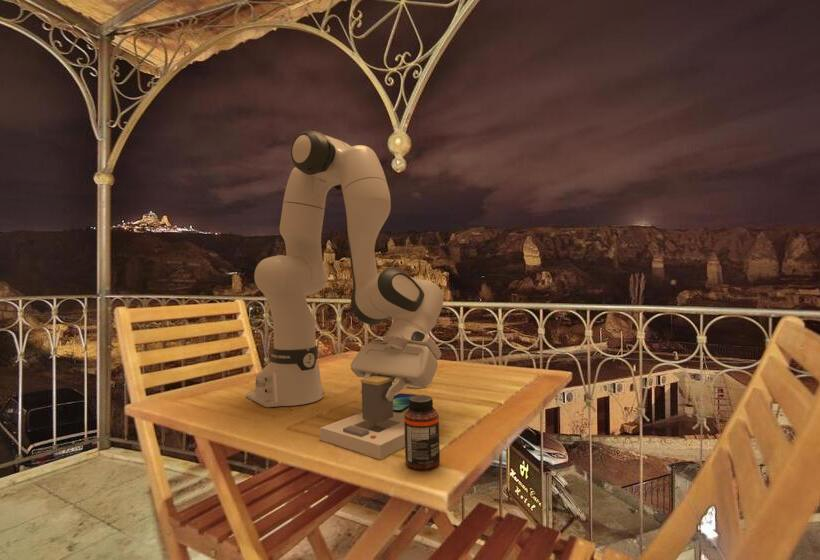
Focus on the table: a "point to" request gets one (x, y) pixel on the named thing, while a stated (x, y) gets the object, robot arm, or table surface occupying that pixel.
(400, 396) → the smartphone
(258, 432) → the table surface
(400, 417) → the socket plate
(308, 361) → the robot arm
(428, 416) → the supplement bottle
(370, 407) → the plug
